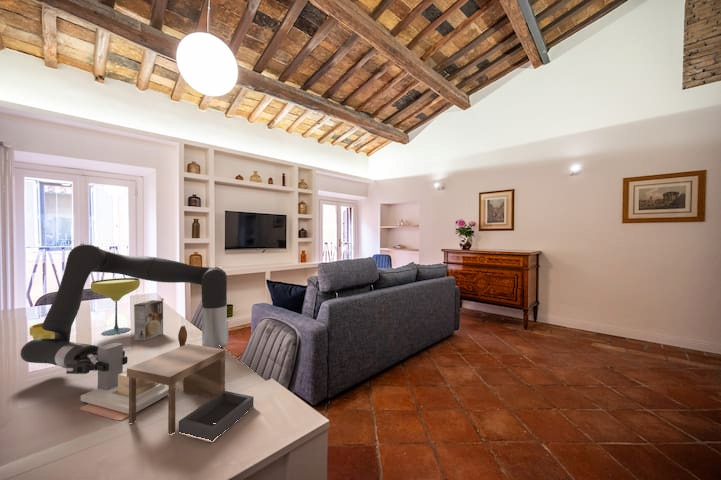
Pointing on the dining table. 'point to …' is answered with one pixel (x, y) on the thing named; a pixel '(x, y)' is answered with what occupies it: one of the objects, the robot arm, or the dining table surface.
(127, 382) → the birch block
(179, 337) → the hand bell
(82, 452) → the dining table surface
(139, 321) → the coffee box
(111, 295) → the cocktail glass
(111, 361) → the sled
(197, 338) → the dining table surface
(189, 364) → the small wooden table
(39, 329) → the plant pot
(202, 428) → the pit trap
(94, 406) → the pad
